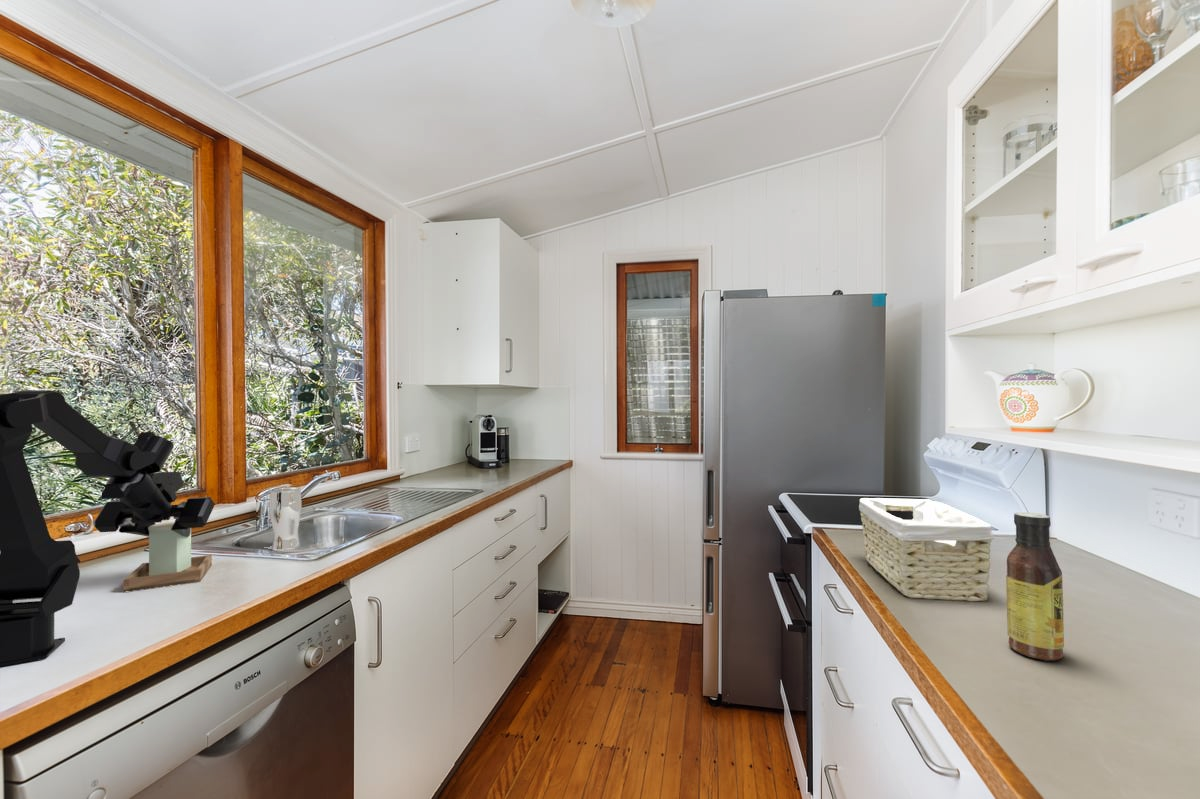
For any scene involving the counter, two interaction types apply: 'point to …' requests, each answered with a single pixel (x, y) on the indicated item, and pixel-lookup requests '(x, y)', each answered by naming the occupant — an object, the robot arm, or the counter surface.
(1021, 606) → the sauce bottle
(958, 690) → the counter surface
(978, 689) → the counter surface
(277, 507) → the beer glass
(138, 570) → the tray
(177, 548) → the tea tin
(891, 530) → the storage basket
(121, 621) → the counter surface
